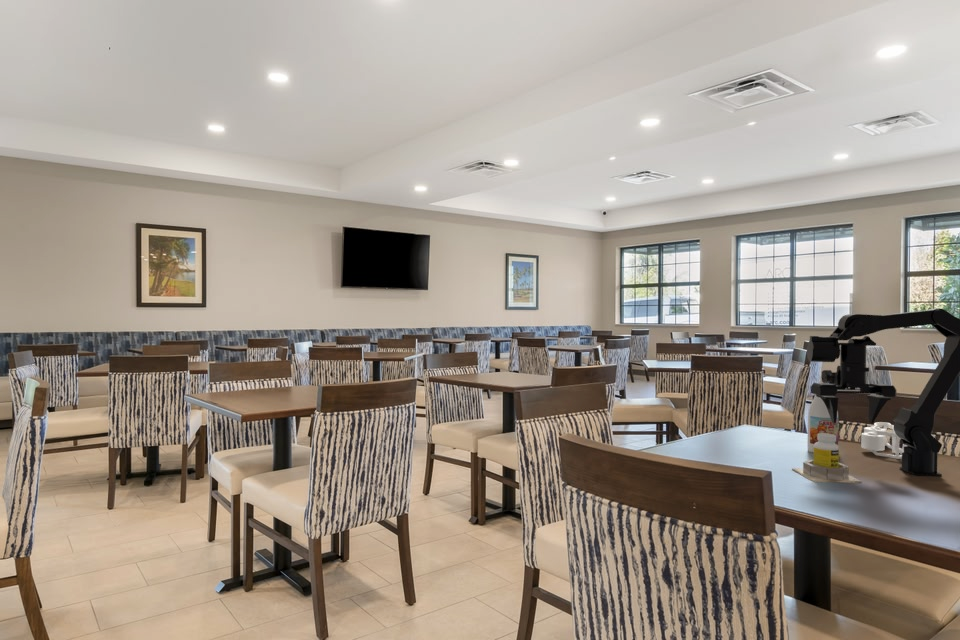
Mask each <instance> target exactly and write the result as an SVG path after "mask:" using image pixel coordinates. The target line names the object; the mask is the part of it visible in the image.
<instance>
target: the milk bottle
mask: <svg viewBox="0 0 960 640" xmlns="http://www.w3.org/2000/svg"><path fill="white" fill-rule="evenodd" d="M807 416H808V417H807V451H808V453H812V454H814V444H815V443H816V442H818V440H817V434H818V433H828V434H834V435H836V442H835V444H837V445H838V446H839V411H838V410H837V420H836V423H832V421H831V418H830V415H829V413H828V410H827V407H826V405H825V403H824V402H823V400H822V399H821V398H820V397H816V394H814V396H813V400H812V402H811V403H810V405H809V408H808V415H807Z"/></svg>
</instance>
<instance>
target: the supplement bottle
mask: <svg viewBox="0 0 960 640" xmlns="http://www.w3.org/2000/svg"><path fill="white" fill-rule="evenodd" d="M817 440H818V442H816V443H815V444H814V453H813V457H812V458H813V459H812V460H813V465H814V466H819V467H825V468H839V463H840V446H839V444H838V445H837V444H835V442H836V435H834V434H828V433H818V434H817Z"/></svg>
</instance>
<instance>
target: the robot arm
mask: <svg viewBox="0 0 960 640" xmlns="http://www.w3.org/2000/svg"><path fill="white" fill-rule="evenodd" d="M920 326H921V327H922V326H932V327H933V328H934V329H935V330H936V331H937V332H938V333H940V334H941V335H942V336H943V337H945V338H946V339H945V342H944V344H943V355H942V358H941V359H940V361H939V363H938V365H937V366H936V368H935V369H934V371H933V373H932V374H931V377H930V378H929V379H928V381H927V382H926V384H925V386H924V388H923V390H922V391H921V393H920V394H919V396H918V398H917V399H916V401H915V403H914V404H913V405H912V406H911V407H909V408H908V409H907V408H904V407H901V408H900V409H899V411H898V415H897V416H896V417H895V418H894V419H892V421H893V422H894V423H893V425H894V431H895V433H896V435H897V436H898V437H900V438H899V439H901V442H902V445H903V444H904V445H907V447H904V453H902V454H901V455H902V459H901V466H900V467H899V470H901V471H904V472H906V473H908V474H911V475H914V476H927V477H929V476H933V477H936V476H937V477H942V473H940V472H938V454H939V452H941V448H942V446H943V444H942V443H941V442H940V441H939V440H938V439H937V438H936V437H935V436H933V435H932V432H933V430H934V427H935V418H936V417H935V415H936V414H937V412H938V410H939V408H940V406H941V405H942V403H943V401H944V400H945V398H946V396H947V394H948V392H949V391H950V390H951V388H952V386H953V385H954V383H955V382H956V379H957V378H958V376H959V375H960V318H958V317H956V316H954V315H953V314H951V313H949V312H948V311H947V310H945V309H943V308H929V309H924V310H916V311H907V312H899V313H889V314H882V315H881V314H862V313H861V314H859V313H851V314H849V313H848V314H844V315H843V316H841V317H840V319H839V320H838V323H837V327H836V328H835V329H834V331H833V332H832V333H830V335H829V336H818V335H810V336H809V340H808V344H807V347H806V357H807V361H808V362H810V363H811V362H813V363H814V362H815V363H835V361H836V360H838V359H839V362H840V363H839V365H837V367H836V371H835V372H834V371H832V370H830V369H829V370H828V369H824V370H822V371H821V382H813V383H811V386H810V394H813V395H815V394H816V397H820V398H821V399H822V400H823V402H824V403H825V405H826V407H827V410H828V413H829V415H830V418H831V421H832V423H836V420H837V411H838V406H839V397H838V396H836V395H837V394H867V395H866V397H867V401H868V417H867V418H868V423H869V424H870V425H874V423H875V421H876V419H877V418H878V416H879V414H880V412H881V410H882V409H883V408H884V407H885V405H886V404H887V402H888V401H891V400H892V398H897V388H896V387H895V385H891V384H887V383H867V373H869V372H870V367H867V346H871V347H872V346H876V345H877V342H875V341H873V339H872V338H870V336H867V335H871V334H874V333H878V332H880V331H884V330H891V329H901V328H912V327H920ZM854 337H856V338H854ZM857 337H861V338H857ZM839 341H847V342H839Z"/></svg>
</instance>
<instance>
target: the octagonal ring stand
mask: <svg viewBox="0 0 960 640" xmlns="http://www.w3.org/2000/svg"><path fill="white" fill-rule="evenodd" d="M802 465H803V466H802V468H795V467H791V470H792V471H794V472H795V473H797V474H798V475H801V476H802V477H804V478H806V479H808V480H810V481H811V482H814V483H815V482H816V483H849V484H851V483H853V484H862V483H863V481H862V480H859V479H858V478H855V477H854V476H852V475H850V472H849V470H850V467H849V465H846V464H844V463H842V462H839V468H825V467H819V466H814V465H813V459H807V460H805V461H803V462H802Z"/></svg>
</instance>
